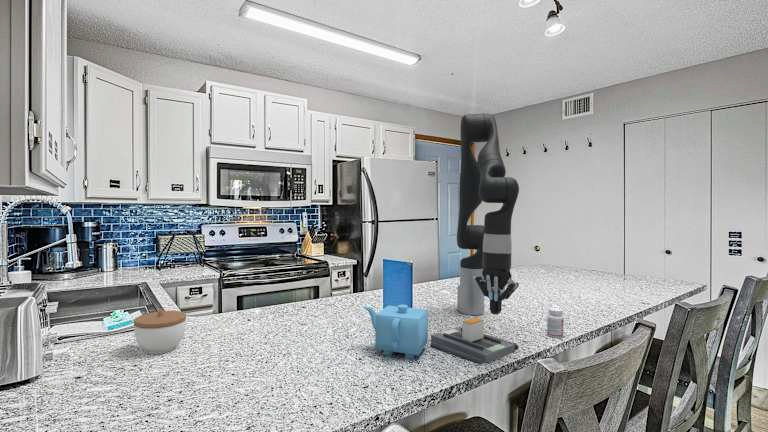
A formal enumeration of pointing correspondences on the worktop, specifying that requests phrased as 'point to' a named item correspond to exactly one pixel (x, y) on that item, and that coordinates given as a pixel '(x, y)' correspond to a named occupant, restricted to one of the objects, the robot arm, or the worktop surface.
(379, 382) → the worktop surface
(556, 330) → the pill bottle
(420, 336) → the teapot
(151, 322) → the lidded bowl
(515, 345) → the dark grey rod
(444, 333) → the panel
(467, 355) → the cord
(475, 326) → the grey orange rectangular block
